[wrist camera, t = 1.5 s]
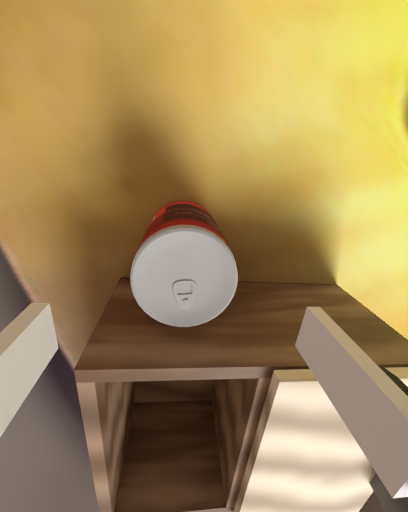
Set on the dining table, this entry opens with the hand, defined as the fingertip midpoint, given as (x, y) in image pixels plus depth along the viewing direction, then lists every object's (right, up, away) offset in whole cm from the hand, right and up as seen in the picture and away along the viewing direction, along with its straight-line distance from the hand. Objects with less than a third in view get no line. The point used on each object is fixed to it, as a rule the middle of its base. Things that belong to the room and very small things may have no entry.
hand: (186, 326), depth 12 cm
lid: (+12, -15, +10) cm, 22 cm away
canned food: (-1, +6, +14) cm, 15 cm away
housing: (+4, -10, +21) cm, 24 cm away
